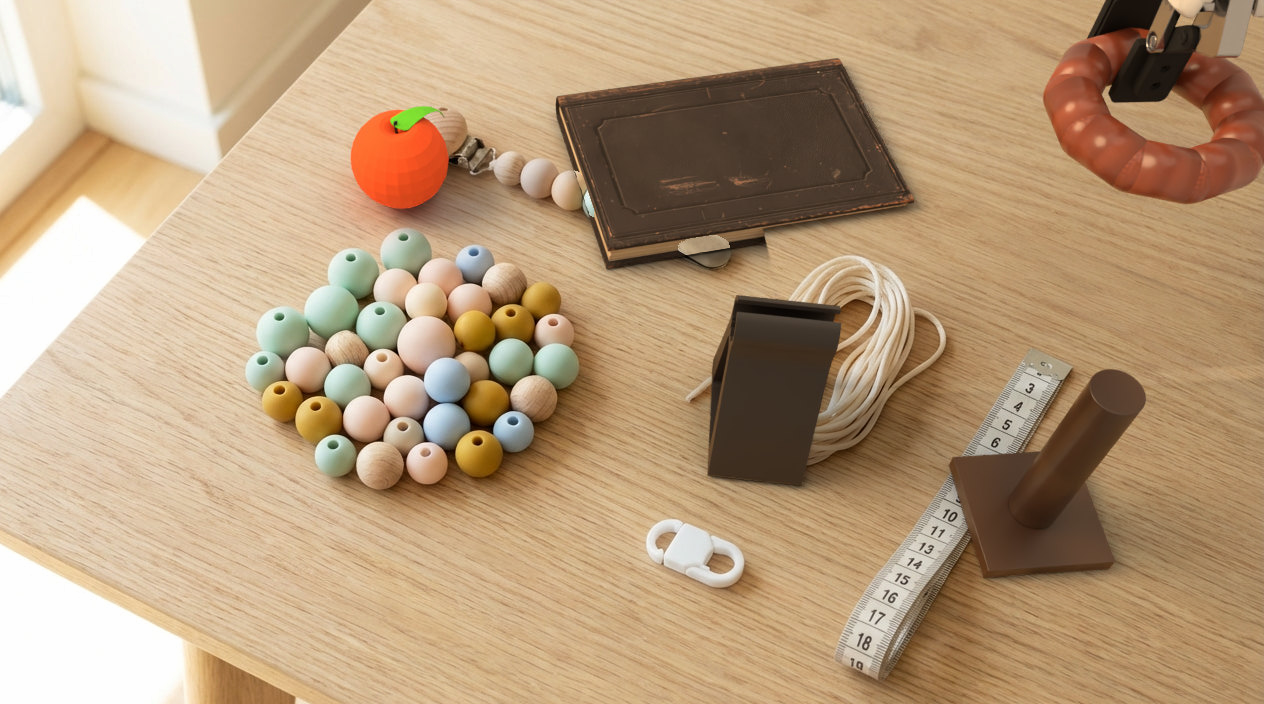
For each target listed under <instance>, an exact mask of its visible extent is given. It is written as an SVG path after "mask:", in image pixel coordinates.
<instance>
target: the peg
mask: <svg viewBox="0 0 1264 704" xmlns="http://www.w3.org/2000/svg"><path fill="white" fill-rule="evenodd" d="M1146 402H1147V395H1146V390H1145V388H1144V387H1143V386H1142V384H1141V383H1140V382H1139V380H1138V379H1136V377H1134V376H1132V375H1131V374H1129V373H1127V372H1125V371H1123V370H1119V369H1114V368H1106V369H1102V370H1099V371H1096V373H1094V374H1093V375H1092V376H1091V377H1090V379H1089V381H1088V382H1087V383H1086V385H1084V388H1083V389H1082V391H1080V393H1079V395H1078V396H1077V398H1076V400H1075V401H1074V402H1073V403H1072V405H1071V406H1070V407H1069V409H1068V411H1067V412H1066V413H1065V415H1064V416H1063V418H1062V419H1061V421H1060V423H1059V424H1058V425H1057V427H1056V428H1055V430H1054V431H1053V433H1052V434H1051V436H1050V437H1049V438H1048V440H1047V441H1046V443H1044V445H1043V447H1042V449H1041V450H1039V451H1025V452H1009V453H1008V452H1007V453H996V454H979V455H978V454H977V455H962V456H952V458H951V460H950V461H949V463H948V467H949V471H950V474H951V477H952V480H953V485H954V486H955V490H956V493H957V496H958V499H959V502H960V506H961V509H962V513H963V516H964V519H965V522H966V525H968V526H967V529H968V532H969V536H970V538H971V543H972V545H973V548H974V551H975V554H976V557H977V561H978V564H979V567H980V571H981V574H982V577H983V578H984V579H986V578H987V579H988V578H998V577H999V578H1000V577H1001V578H1002V577H1015V576H1027V575H1028V576H1029V575H1041V574H1043V575H1044V574H1056V573H1068V572H1083V571H1084V572H1085V571H1096V570H1098V571H1099V570H1109V569H1111V567H1112V566H1113V565H1114V564H1115V563H1116V559H1115V557H1114V553H1113V551H1112V548H1111V546H1110V543H1109V541H1108V538H1107V535H1106V532H1105V530H1104V528H1103V525H1102V522H1101V519H1100V517H1099V514H1098V512H1097V509H1096V506H1095V504H1094V502H1093V501H1094V500H1093V497H1092V495H1091V493H1090V491H1089V487H1088V484H1087V483H1086V482H1087V481H1088V480H1089V479H1090V477H1091V475H1093V473H1094V472H1095V470H1096V469H1097V468H1098V467H1099V465H1100V464H1101V463H1102V462H1103V460H1104V459H1105V458H1106V456H1107V455H1108V454H1109V453H1110V451H1111V450H1112V449H1113V448H1114V446H1115V445H1116V444H1117V442H1118V441H1119V440H1120V438H1122V436H1123V435H1124V433H1126V431H1127V430H1128V428H1129V427H1130V426H1131V424H1132V423H1133V422H1134V421H1135V420H1136V418H1137V417H1138V415H1139V414H1140V413H1141V411H1142V410H1143V409H1144V408H1145V406H1146Z"/></svg>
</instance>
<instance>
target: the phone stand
mask: <svg viewBox="0 0 1264 704" xmlns="http://www.w3.org/2000/svg"><path fill="white" fill-rule="evenodd" d="M841 312H842V308H841V306H840V305H834V304H828V303H827V304H826V303H818V302H817V303H816V302H806V301H796V300H788V299H777V298H769V297H759V296H751V295H750V296H749V295H740V294H736V295H735V298H734V301H733V305H732V310H731V315H730V319H729V321H728V324H727V325H726V328H725V331H724V333H723V335H722V338H721V341H720V343H719V345H718V347H717V350H716V352H715V354H714V356H713V359H712V368H711V369H712V370H711V388H710V389H711V390H710V407H709V408H710V410H709V411H710V412H709V416H710V417H709V429H708V430H709V432H708V449H707V450H708V452H707V469H706V470H707V472H706V473H707V475H706V476H710V477H718V478H727V479H729V478H730V479H736V480H737V479H738V480H747V481H756V482H763V483H764V482H765V483H766V482H767V483H775V484H785V485H793V486H803V482H804V478H805V473H806V469H807V465H808V462H809V458H810V454H811V449H812V445H813V441H814V436H815V432H816V429H817V424H818V420H819V415H820V412H821V408H822V404H823V398H824V395H825V391H826V387H827V382H828V377H829V374H830V371H831V366H832V363H833V360H834V358H835V356H836V354H837V351H838V347H839V344H840V338H841V331H842V322H838V321H837V322H836V321H835V318H836V315H841Z"/></svg>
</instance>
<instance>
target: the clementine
mask: <svg viewBox="0 0 1264 704" xmlns="http://www.w3.org/2000/svg"><path fill="white" fill-rule="evenodd" d="M435 112H438V113H440V115H441V116H442V117H443V118H444V119H445V115H444V114H443V112H442V111H441V110H439V109H437V108H435V107H433V106H429V105H427V106H425V105H424V106H423V105H421V106H414V107H411V108H410V107H409V108H408V109H389V110H386V111H383V112H380V113H378V114H376V115H374V116H372V117H371V118H370V119H368V120H367V121H366V122H365V123H364V124H363V125H362V126H361V127H360V128H359V130H358V131H357V132H356V135H355V137H354V138H353V141H352V144H351V149H350V166H351V171H352V174H353V176H354V179H355V181H356V183H357V185H358V187H359V189H361V191H363V192H364V194H365V195H367V196H368V198H369V199H371V200H372V201H374V202H375V203H377V204H379V205H382V206H384V207H388V208H392V209H401V210H402V209H403V210H404V209H411V208H414V207H417V206H420V205H422V204H423V203H425V202H427V201H429V200H430V199H432V198H433V197H434V196H435V195H436V194H437V193H438V192H439V190H440V188H441V187H442V185H443V183H444V181H445V180H446V178H447V174H448V168H449V162H450V161H449V160H450V157H449V153H448V148H447V144H446V141H445V138H444V137H443V136H442V133H441V132H440V131H439V129H438V127H437V126H436V125H435V124H434V123H433V122H432V121H431V120H429V119H428V118H426V116H428V115H429V114H432V113H435Z"/></svg>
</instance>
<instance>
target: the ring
mask: <svg viewBox="0 0 1264 704" xmlns="http://www.w3.org/2000/svg"><path fill="white" fill-rule="evenodd" d="M1148 32H1149V30H1145V29H1140V28H1125V29H1121V30H1118V31H1114V32H1111V33H1107V34H1103V35H1100V36H1096V37H1093V38H1089V39H1087V38H1086V39H1082V40H1079V41H1077V42H1075V43H1073V44H1072V45H1071V46H1069V47H1068V48H1067V50H1065V52H1064V53H1063V55H1062V57H1061V59H1060V60H1059V62H1058V64H1057V66H1055V69H1054V71H1053V73H1052V75H1051V76H1050V77H1049V79H1048V81H1047V83H1046V85H1045V87H1044V90H1043V94H1042V102H1043V106H1044V109H1045V111H1046V114H1047V116H1048V120H1049V121H1050V123H1051V126H1052V129H1053V130H1054V133H1055V136H1056V138H1057V141H1058V143H1059V146H1060V147H1061V149H1062V151H1063V153H1065V154H1066V155H1067V156H1068V157H1070V158H1071V159H1072V160H1074V161H1075V162H1076V163H1078V164H1079V165H1081V166H1082V167H1084V168H1085V169H1086V170H1088V171H1089V172H1090V173H1092V174H1094V176H1096V177H1098V178H1099V179H1100V180H1102V181H1103V182H1105V183H1106V184H1108V185H1109V186H1110V187H1112V188H1113V189H1115V190H1117V191H1118V192H1121V193H1125V194H1131V195H1136V196H1141V197H1145V198H1149V199H1155V200H1159V201H1165V202H1171V203H1175V204H1181V205H1194V204H1197V203H1200V202H1203V201H1206V200H1210V199H1212V198H1213V199H1214V198H1216V197H1219V196H1222V195H1225V194H1228V193H1232V192H1234V191H1237V190H1240V189H1244V188H1245V187H1248V186H1250V185H1251V184H1252V183H1253V182H1254V181H1255V180H1256V179H1257V178H1259V176H1260V174H1261V172H1262V169H1263V167H1264V97H1263V94H1262V92H1260V90H1259V88H1258V86H1257V84H1256V82H1255V81H1254V79H1253V77H1252V75H1251V74H1250V73H1249V72H1248V71H1246V70H1245V69H1244V68H1242V67H1240V66H1239V65H1238V64H1236V63H1234V62H1232V61H1231V60H1229V58H1210V57H1207V56H1204V55H1201V54H1198V53H1195V52H1193V54H1192V56H1191V57H1190V59H1189V61H1188V62H1187V64H1186V66H1185V67H1184V69H1183V71H1182V73H1181V74H1180V76H1179V78H1178V79H1177V81H1176V83H1175V84H1174V86H1173V88H1172V90H1171V91H1170V92H1173V93H1174V94H1175V95H1177V96H1179V97H1180V98H1182V100H1183V99H1184V101H1187V103H1190V104H1191V105H1193V106H1194V107H1195V108H1197V109H1198V110H1200V111H1202V113H1203V115H1204V117H1205V119H1206V122H1207V123H1208V125H1209V128H1210V129H1211V131H1212V133H1213V134H1212V136H1211V138H1210V141H1208V142H1204V143H1202V144H1198V145H1195V146H1191V147H1187V146H1186V147H1185V146H1182V145H1175V144H1171V143H1165V142H1162V141H1161V142H1160V141H1155V140H1151V139H1146V138H1145V137H1144V136H1142V135H1141V134H1139V133H1138V132H1136V131H1135V130H1134V129H1132V128H1130V127H1129V126H1127V125H1126V124H1124V123H1123V122H1121V120H1119V119H1117V117H1114V116H1113V115H1112V114H1111V112H1110V109H1109V107H1108V105H1107V102H1106V101H1105V98H1104V96H1103V93H1104V91H1105V89H1106V88H1107V87H1111V85H1112V84H1113V82H1114V80H1115V79H1116V77H1117V74H1118V72H1119V70H1120V68H1121V67H1122V65H1123V63H1124V61H1125V59H1126V57H1127V55H1128V53H1129V52H1130V50H1131V48H1132V46H1133V44H1134V42H1135V41H1136V39H1140V38H1146V37H1147V34H1148Z"/></svg>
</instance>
